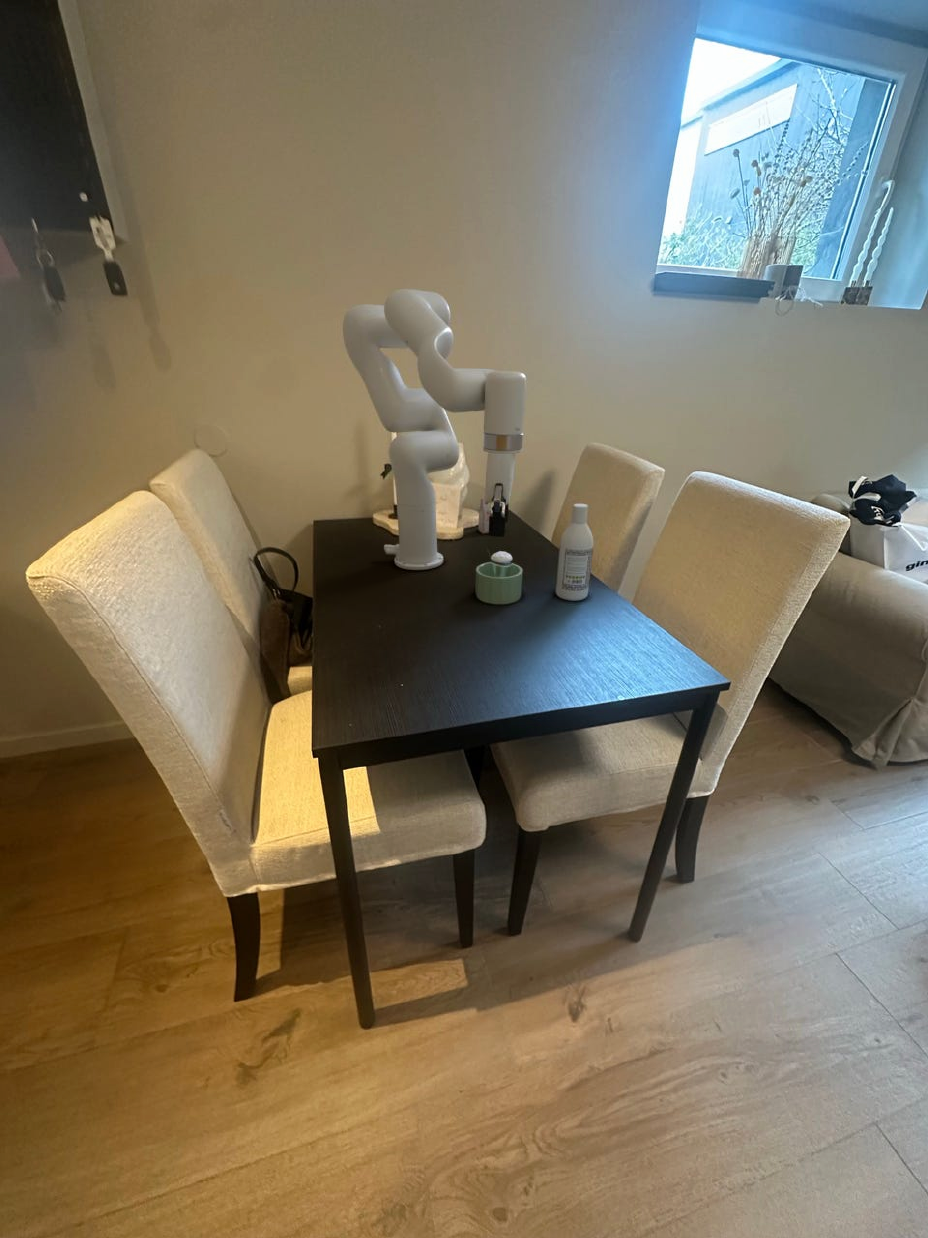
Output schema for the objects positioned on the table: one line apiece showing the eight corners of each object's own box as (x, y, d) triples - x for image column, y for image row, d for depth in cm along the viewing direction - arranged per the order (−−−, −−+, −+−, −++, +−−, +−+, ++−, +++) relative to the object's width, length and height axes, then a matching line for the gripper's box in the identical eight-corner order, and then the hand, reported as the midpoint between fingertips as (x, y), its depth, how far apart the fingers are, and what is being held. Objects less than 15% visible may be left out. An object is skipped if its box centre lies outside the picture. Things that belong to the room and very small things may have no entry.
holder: (473, 603, 106) (473, 576, 104) (478, 584, 115) (478, 560, 112) (520, 605, 105) (521, 579, 102) (521, 587, 114) (523, 562, 111)
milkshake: (485, 588, 112) (486, 546, 107) (509, 587, 112) (510, 545, 107) (488, 597, 108) (489, 553, 103) (512, 596, 108) (514, 552, 103)
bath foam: (593, 598, 108) (605, 507, 99) (565, 603, 106) (574, 510, 97) (576, 587, 114) (586, 499, 105) (549, 591, 112) (557, 502, 103)
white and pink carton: (478, 530, 154) (479, 497, 149) (498, 528, 156) (499, 496, 151) (482, 533, 151) (483, 500, 146) (503, 531, 153) (504, 498, 148)
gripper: (487, 435, 104) (484, 515, 112) (478, 449, 89) (475, 541, 97) (523, 437, 103) (518, 517, 111) (520, 451, 88) (514, 543, 96)
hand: (498, 528), depth 104 cm, fingers open, 9 cm apart
